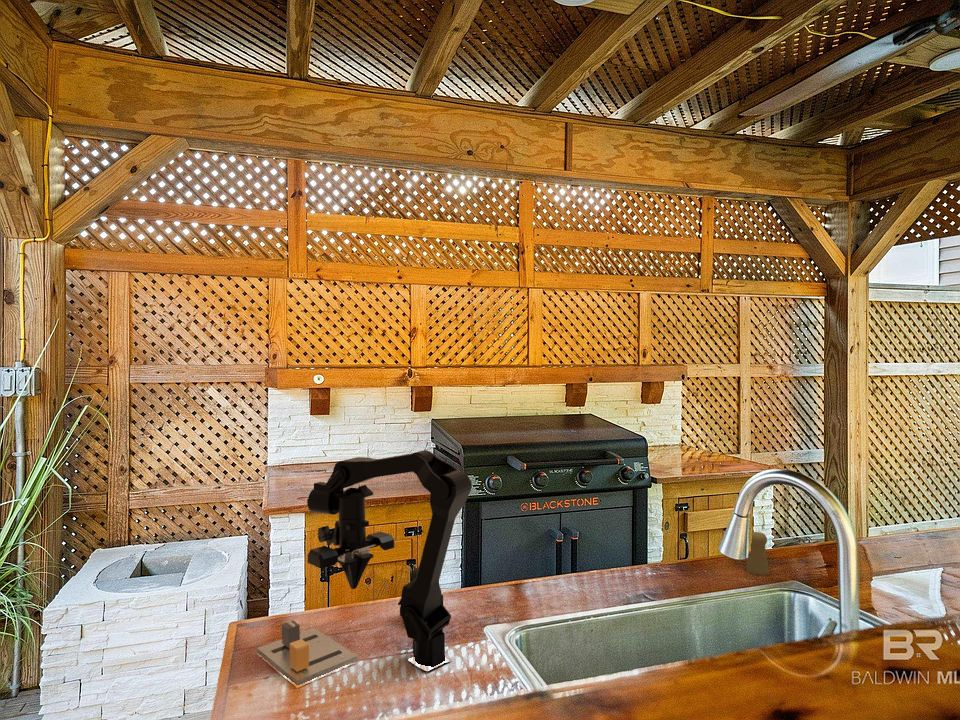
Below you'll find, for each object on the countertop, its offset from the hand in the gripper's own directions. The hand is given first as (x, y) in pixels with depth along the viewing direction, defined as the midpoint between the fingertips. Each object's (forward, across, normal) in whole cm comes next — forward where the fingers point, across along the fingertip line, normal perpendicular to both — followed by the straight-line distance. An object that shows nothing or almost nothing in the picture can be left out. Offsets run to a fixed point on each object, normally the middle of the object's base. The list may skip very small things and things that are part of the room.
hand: (353, 588), depth 125 cm
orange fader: (+10, +15, +4) cm, 18 cm away
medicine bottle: (+12, -18, +2) cm, 22 cm away
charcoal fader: (+10, +12, -6) cm, 16 cm away
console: (+12, +11, -1) cm, 16 cm away
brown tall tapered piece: (+13, -104, +47) cm, 115 cm away
